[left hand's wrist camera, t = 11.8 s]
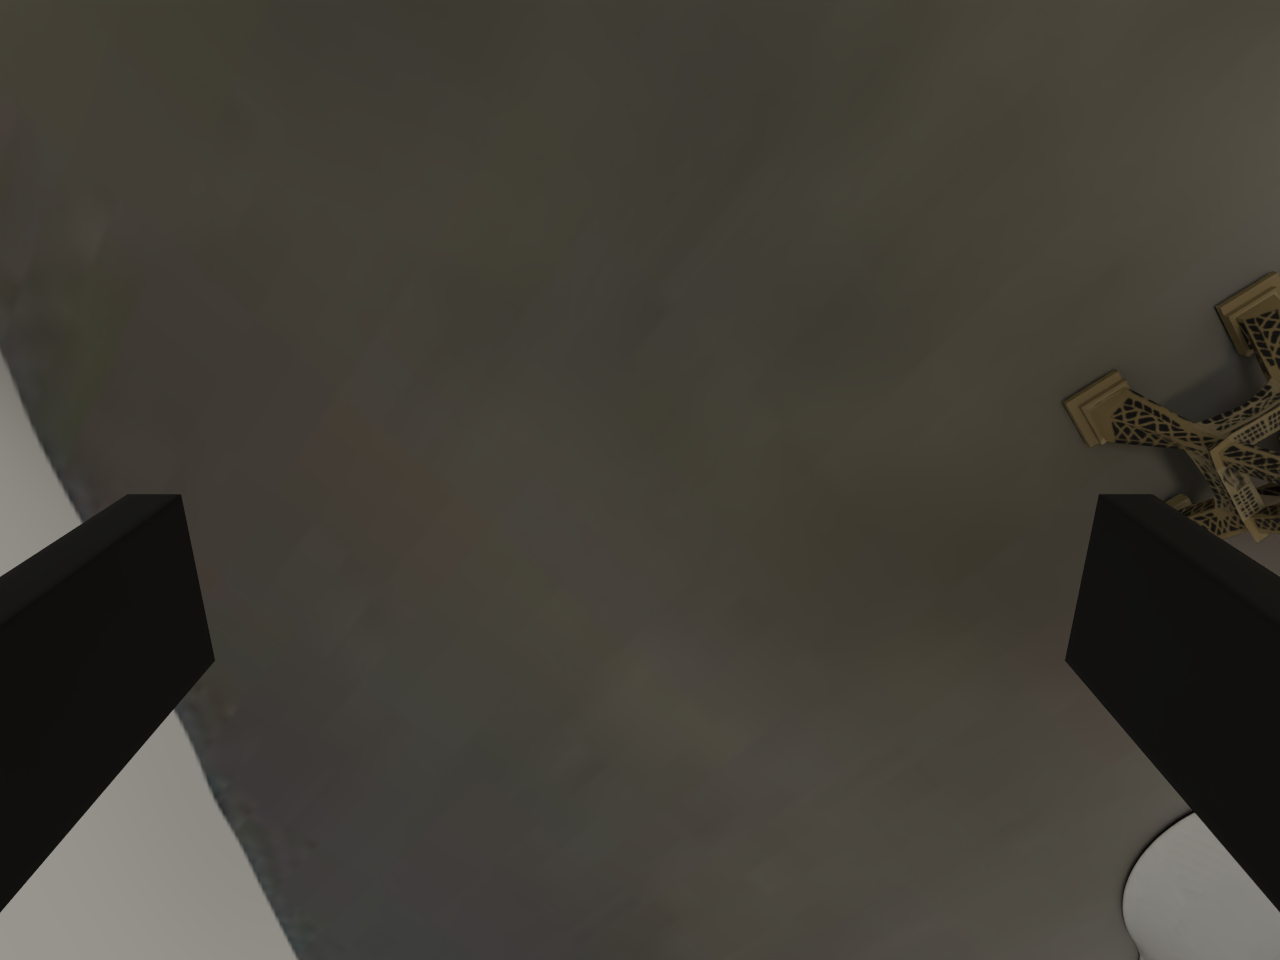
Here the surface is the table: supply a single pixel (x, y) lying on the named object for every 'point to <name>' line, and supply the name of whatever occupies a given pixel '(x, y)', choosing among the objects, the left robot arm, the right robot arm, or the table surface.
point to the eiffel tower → (1209, 424)
